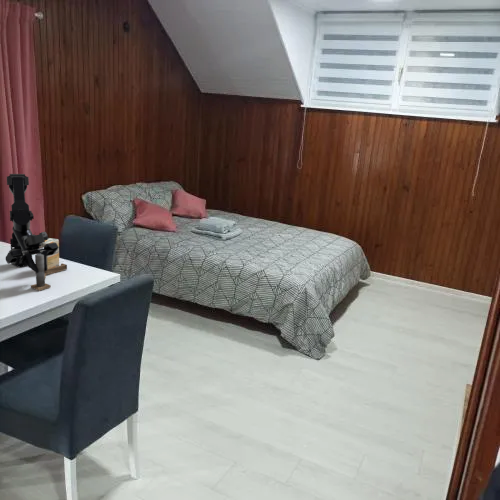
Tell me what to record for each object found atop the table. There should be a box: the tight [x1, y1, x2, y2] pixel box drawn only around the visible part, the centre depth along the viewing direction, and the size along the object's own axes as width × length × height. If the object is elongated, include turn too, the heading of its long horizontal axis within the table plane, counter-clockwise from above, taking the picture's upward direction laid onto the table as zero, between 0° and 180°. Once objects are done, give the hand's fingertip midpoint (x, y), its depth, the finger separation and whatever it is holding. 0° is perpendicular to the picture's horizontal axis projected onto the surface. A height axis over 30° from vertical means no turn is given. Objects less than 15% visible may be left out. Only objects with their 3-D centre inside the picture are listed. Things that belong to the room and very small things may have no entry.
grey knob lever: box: [30, 254, 68, 292], centre depth 188 cm, size 16×22×13 cm
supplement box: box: [39, 237, 60, 269], centre depth 198 cm, size 8×5×13 cm, turn 167°
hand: (42, 271), depth 178 cm, fingers closed on grey knob lever, 3 cm apart
